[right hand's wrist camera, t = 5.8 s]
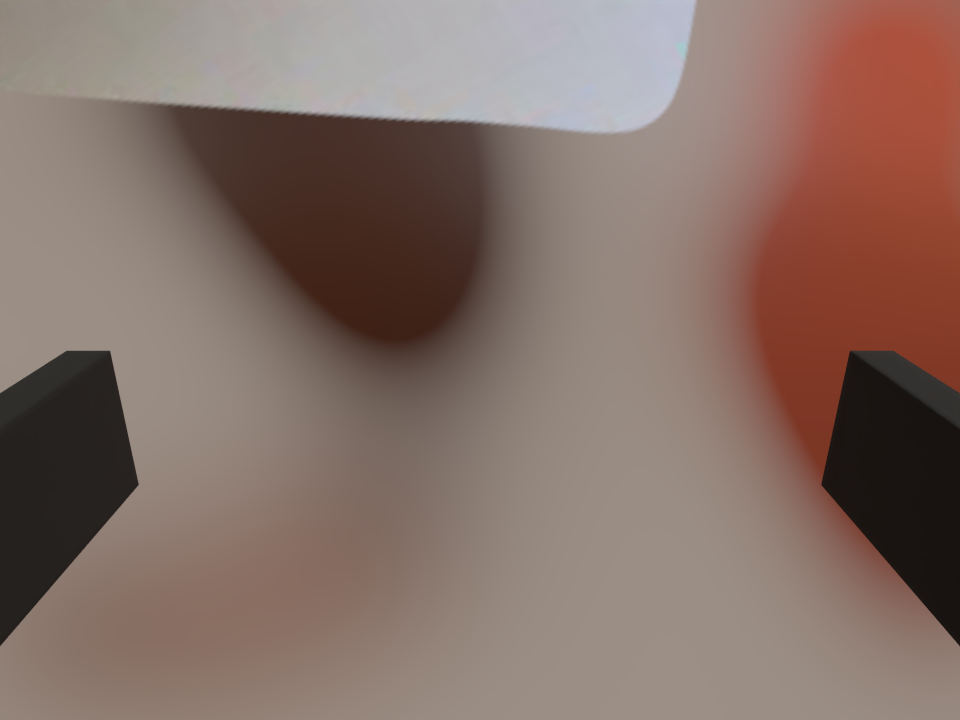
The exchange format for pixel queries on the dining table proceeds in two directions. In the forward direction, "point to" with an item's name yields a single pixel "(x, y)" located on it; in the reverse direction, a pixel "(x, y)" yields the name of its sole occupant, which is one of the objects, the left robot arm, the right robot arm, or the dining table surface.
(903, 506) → the right robot arm
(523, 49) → the dining table surface
